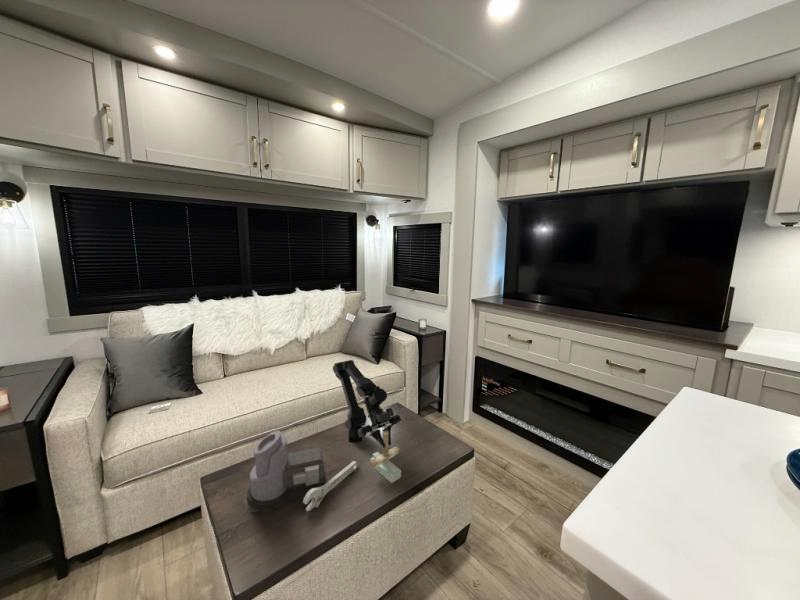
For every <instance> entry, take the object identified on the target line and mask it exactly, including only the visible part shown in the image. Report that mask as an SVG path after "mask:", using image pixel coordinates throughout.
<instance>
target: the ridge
mask: <svg viewBox="0 0 800 600" xmlns="http://www.w3.org/2000/svg"><path fill="white" fill-rule="evenodd" d="M381 454H382V453H379V452H378V451H376V452H374V453H372V457H371V458H370V459H369V462H370V461H371V460H372V459H374V458H376V457H378V456H379V455H381ZM374 469H375V470H376V471H377V472H378V473H380V474H381V476H383V477H384V478H385V479H386V480H387V481H389V483H391V484H393V483H394V482H395V481H398V480H399V479H401V477H402V470H401V469H400V468H399V467H397V466H396V465H395V464H394V463H393V462H391V461H390V460H387V461H385V462H384V463H382V464H380V465H379V466H377V467H375V468H374Z"/></svg>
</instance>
